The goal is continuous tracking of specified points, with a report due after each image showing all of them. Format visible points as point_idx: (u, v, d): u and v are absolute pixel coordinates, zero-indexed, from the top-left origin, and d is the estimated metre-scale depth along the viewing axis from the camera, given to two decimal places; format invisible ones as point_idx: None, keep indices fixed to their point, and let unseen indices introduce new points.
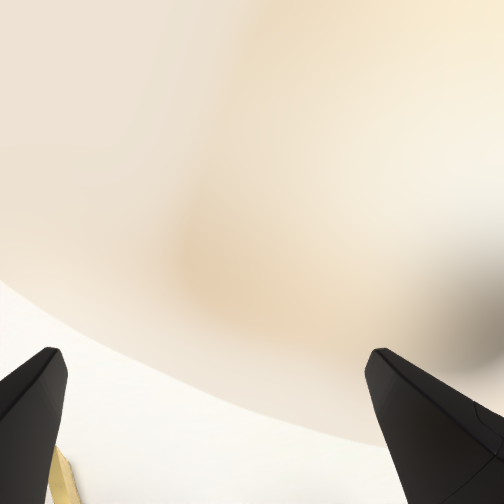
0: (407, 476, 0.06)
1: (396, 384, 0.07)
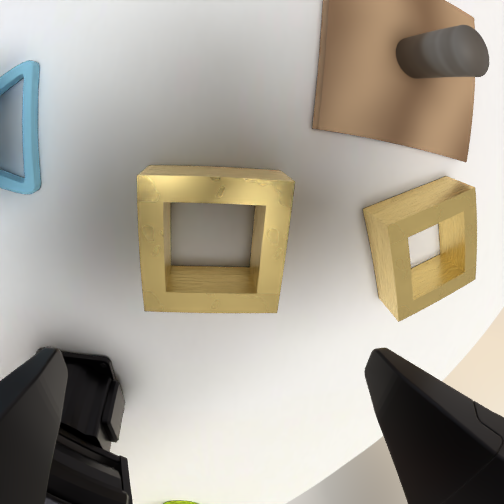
0: (407, 476, 0.06)
1: (396, 384, 0.07)
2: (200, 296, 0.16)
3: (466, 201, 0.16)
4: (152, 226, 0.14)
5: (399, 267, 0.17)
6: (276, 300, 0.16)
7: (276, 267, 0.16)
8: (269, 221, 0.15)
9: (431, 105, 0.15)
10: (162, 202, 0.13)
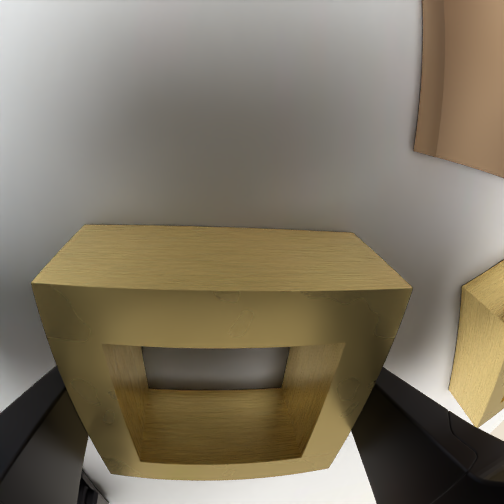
0: (378, 486, 0.06)
1: None
2: (202, 467, 0.07)
3: None
4: (90, 382, 0.05)
5: (503, 376, 0.08)
6: (331, 458, 0.08)
7: (342, 426, 0.07)
8: (346, 367, 0.06)
9: None
10: (99, 343, 0.05)
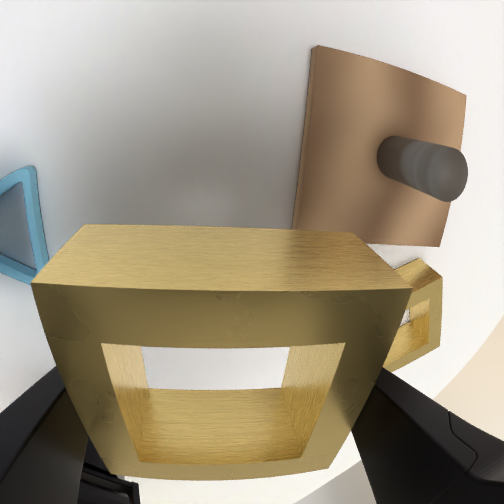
0: (378, 486, 0.06)
1: None
2: (202, 467, 0.07)
3: (432, 290, 0.18)
4: (89, 382, 0.05)
5: None
6: (331, 458, 0.08)
7: (341, 426, 0.07)
8: (346, 367, 0.06)
9: (408, 202, 0.18)
10: (99, 343, 0.05)
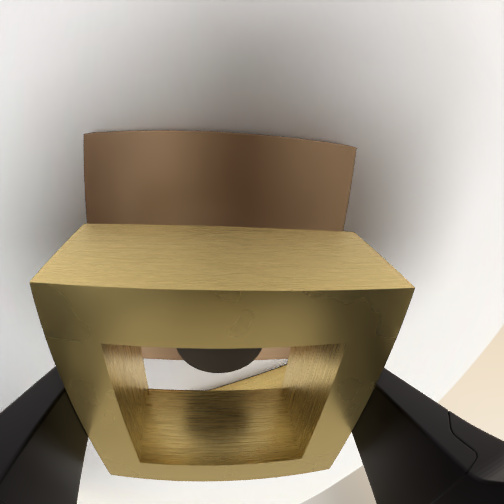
0: (378, 486, 0.06)
1: None
2: (202, 467, 0.07)
3: None
4: (89, 383, 0.05)
5: None
6: (332, 458, 0.08)
7: (343, 427, 0.07)
8: (348, 367, 0.06)
9: None
10: (98, 343, 0.05)
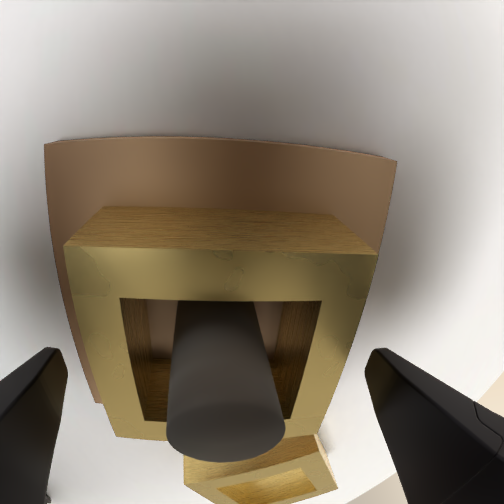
0: (407, 476, 0.06)
1: (396, 384, 0.07)
2: None
3: (303, 461, 0.12)
4: (105, 336, 0.07)
5: (215, 498, 0.14)
6: (318, 422, 0.09)
7: (325, 386, 0.09)
8: (324, 324, 0.07)
9: None
10: (117, 297, 0.06)
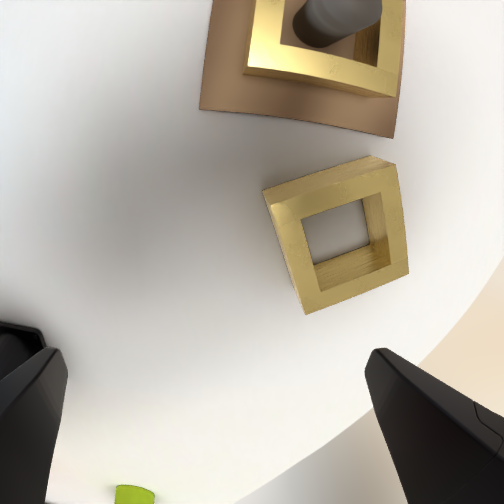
0: (407, 476, 0.06)
1: (396, 384, 0.07)
2: (318, 56, 0.11)
3: (383, 180, 0.15)
4: None
5: (294, 253, 0.16)
6: (395, 81, 0.12)
7: (394, 44, 0.11)
8: (386, 0, 0.10)
9: None
10: None
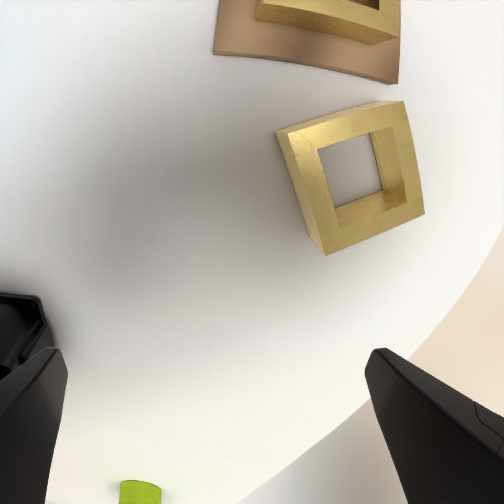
0: (407, 476, 0.06)
1: (396, 384, 0.07)
2: None
3: (393, 115, 0.14)
4: None
5: (312, 185, 0.16)
6: (396, 23, 0.11)
7: None
8: None
9: None
10: None
